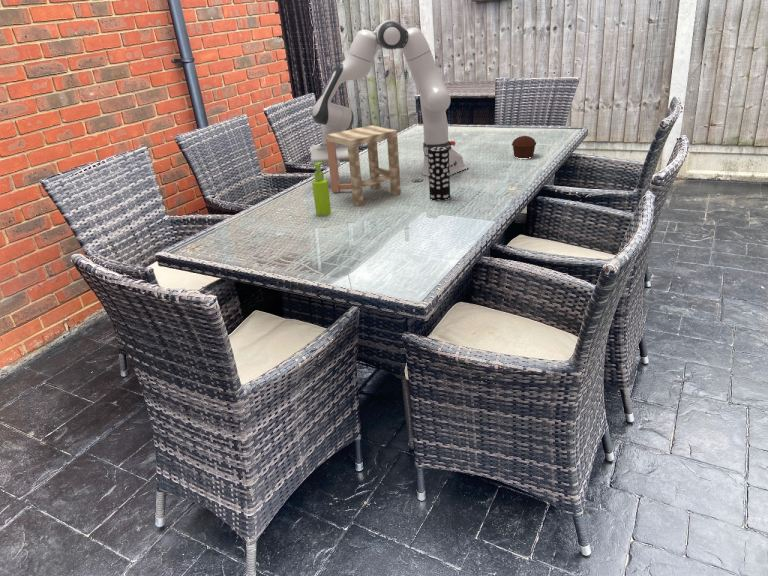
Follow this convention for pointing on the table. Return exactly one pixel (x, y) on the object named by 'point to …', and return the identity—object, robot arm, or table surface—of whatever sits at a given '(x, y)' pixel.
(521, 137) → the muffin
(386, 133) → the stool
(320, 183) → the soap dispenser
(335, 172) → the hinged leg
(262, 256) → the table surface
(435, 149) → the spotted tube
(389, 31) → the robot arm
